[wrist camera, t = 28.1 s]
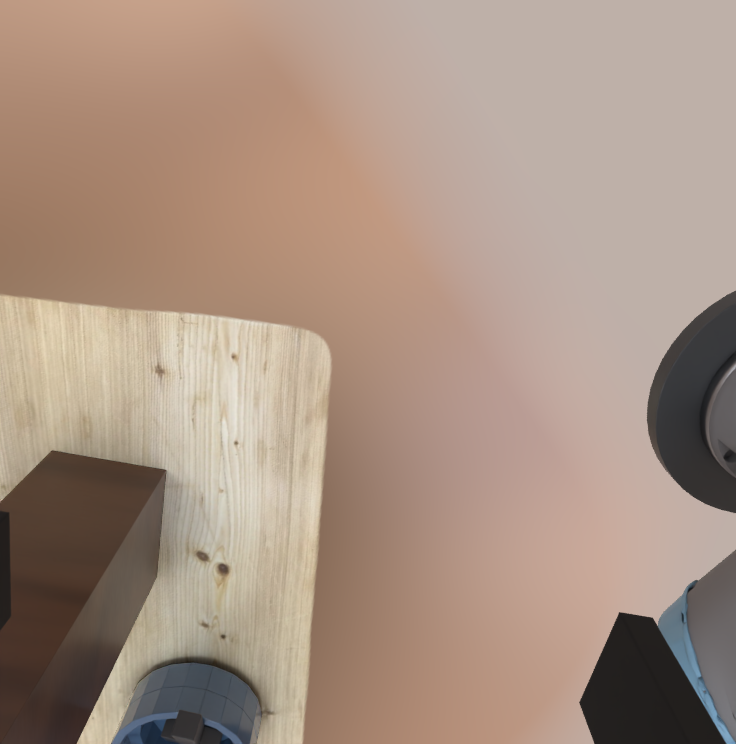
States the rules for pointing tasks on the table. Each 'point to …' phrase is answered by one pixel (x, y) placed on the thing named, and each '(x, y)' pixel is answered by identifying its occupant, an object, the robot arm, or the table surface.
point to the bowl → (190, 704)
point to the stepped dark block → (190, 730)
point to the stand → (73, 588)
